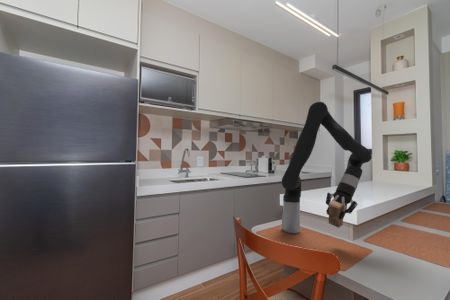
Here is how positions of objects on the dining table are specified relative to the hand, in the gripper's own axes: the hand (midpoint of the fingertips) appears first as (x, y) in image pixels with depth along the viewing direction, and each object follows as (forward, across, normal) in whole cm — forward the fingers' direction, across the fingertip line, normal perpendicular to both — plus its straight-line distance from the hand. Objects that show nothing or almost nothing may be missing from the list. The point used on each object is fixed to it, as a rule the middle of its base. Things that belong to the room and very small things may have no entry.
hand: (333, 216), depth 98 cm
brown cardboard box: (+2, 0, +5) cm, 5 cm away
